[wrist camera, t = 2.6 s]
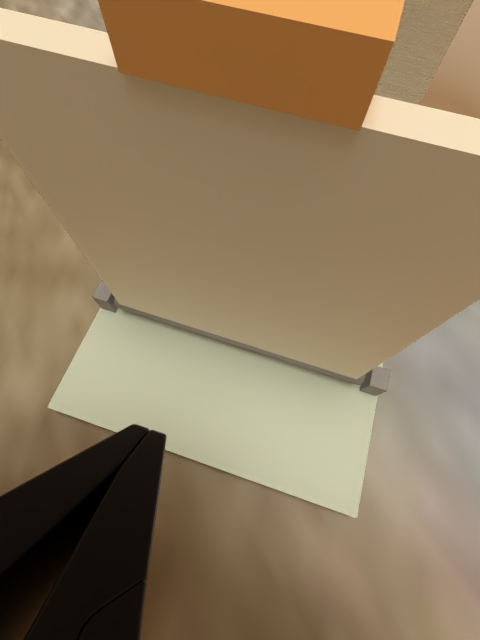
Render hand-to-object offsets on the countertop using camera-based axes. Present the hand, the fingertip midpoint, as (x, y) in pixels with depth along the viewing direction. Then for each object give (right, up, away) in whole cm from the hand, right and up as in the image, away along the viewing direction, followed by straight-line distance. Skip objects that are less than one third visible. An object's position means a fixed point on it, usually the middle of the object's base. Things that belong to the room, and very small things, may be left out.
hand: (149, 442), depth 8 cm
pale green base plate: (+3, +4, +12) cm, 12 cm away
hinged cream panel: (+2, +2, +9) cm, 9 cm away
